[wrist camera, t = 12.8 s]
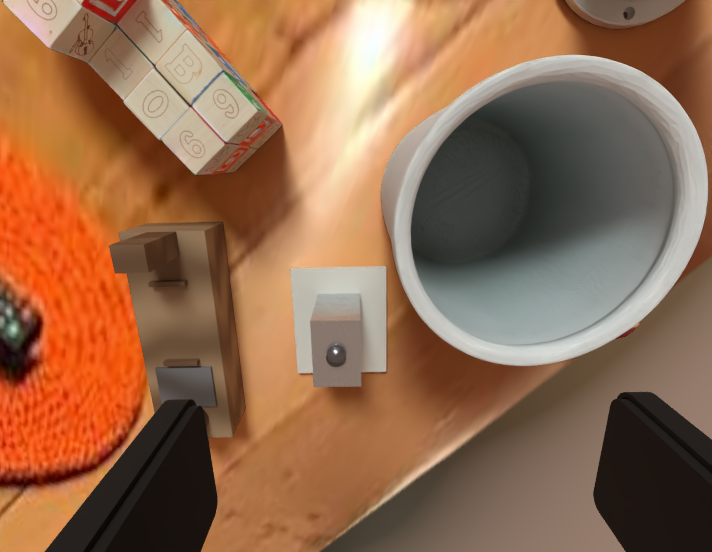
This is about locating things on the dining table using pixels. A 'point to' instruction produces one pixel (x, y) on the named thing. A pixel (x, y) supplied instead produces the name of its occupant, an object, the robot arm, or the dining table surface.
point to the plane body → (185, 317)
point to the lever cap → (336, 340)
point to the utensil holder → (545, 208)
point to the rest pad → (342, 281)
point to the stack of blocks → (160, 74)
